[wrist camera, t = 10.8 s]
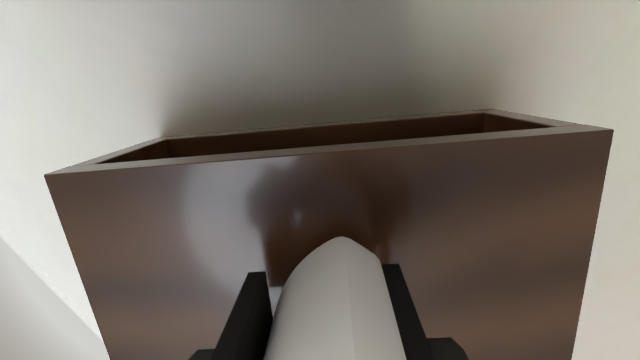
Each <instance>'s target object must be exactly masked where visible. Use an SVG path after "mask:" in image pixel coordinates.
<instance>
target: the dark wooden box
mask: <svg viewBox="0 0 640 360" xmlns="http://www.w3.org/2000/svg"><path fill="white" fill-rule="evenodd" d="M613 132H614V130H613V129H608V128H602V127H596V126H590V125H582V124H577V123H571V122H565V121H559V120H554V119H548V118H542V117H536V116H530V115H524V114H518V113H513V112H507V111H501V110H495V109H484V110H472V111H460V112H449V113H437V114H425V115H413V116H402V117H390V118H378V119H366V120H355V121H343V122H331V123H319V124H308V125H296V126H284V127H272V128H261V129H249V130H237V131H225V132H214V133H202V134H190V135H178V136H166V137H159V138H156V139H153V140H150V141H147V142H144V143H141V144H137V145H134V146H131V147H128V148H125V149H122V150H119V151H116V152H113V153H110V154H107V155H104V156H101V157H97V158H94V159H91V160H88V161H85V162H82V163H79V164H76V165H73V166H69V167H66V168H63V169H60V170H57V171H54V172H51V173H48V174H45V175H44V177H45V180H46V183H47V186H48V188H49V191H50V194H51V197H52V199H53V202H54V205H55V208H56V210H57V213H58V216H59V219H60V222H61V224H62V227H63V230H64V233H65V235H66V238H67V241H68V244H69V247H70V249H71V252H72V255H73V258H74V260H75V263H76V266H77V269H78V271H79V274H80V277H81V280H82V283H83V285H84V288H85V291H86V294H87V296H88V299H89V302H90V305H91V308H92V310H93V313H94V316H95V319H96V321H97V324H98V327H99V330H100V332H101V335H102V338H103V341H104V344H105V346H106V349H107V352H108V354H109V357H110V360H188V359H189V358H190V357H191V356H192V355H193V354H194V353H195V352H196V351H197V350H198V349H215V348H216V345H217V343H218V341H219V338H220V336H221V334H222V332H223V329H224V327H225V325H226V322H227V320H228V318H229V315H230V313H231V311H232V309H233V306H234V304H235V302H236V299H237V297H238V295H239V292H240V290H241V288H242V285H243V283H244V281H245V279H246V276H247V274H248V272H261V271H266V277H267V283H268V290H269V296H270V302H271V308H272V315H273V317H274V313H275V309H276V306H277V302H278V299H279V297H280V294H281V291H282V289H283V287H284V285H285V283H286V281H287V280H288V278H289V276H290V275H291V273H292V272H293V270H294V269H295V268H296V267H297V266H298V264H299V263H300V262H301V261H302V260H303V259H304V258H305V257H306V256H307V255H309V254H310V253H311V252H312V251H314V250H315V249H316V248H318V247H319V246H321V245H322V244H324V243H326V242H327V241H329V240H331V239H333V238H335V237H341V236H343V237H347V238H350V239H352V240H353V241H355V242H357V243H358V244H360V245H361V246H363V247H364V248H366V249H367V250H369V251H370V252H372V253H373V254H375V255H376V256H377V258H378V259H379V260H380V263H381V264H398V263H399V265H400V268H401V270H402V273H403V276H404V279H405V281H406V284H407V287H408V289H409V292H410V295H411V297H412V300H413V303H414V305H415V308H416V311H417V314H418V316H419V319H420V322H421V324H422V327H423V330H424V332H425V335H426V338H447V337H451V338H452V339H453V340H454V341H456V342H457V343H458V344H459V345H460V346H461V347H462V348H463V349H464V351H465V353H466V355H467V357H468V359H469V360H571V358H572V353H573V348H574V342H575V337H576V331H577V326H578V321H579V315H580V310H581V304H582V299H583V294H584V288H585V283H586V277H587V272H588V267H589V261H590V256H591V250H592V245H593V240H594V234H595V229H596V223H597V218H598V213H599V207H600V202H601V196H602V191H603V186H604V180H605V175H606V169H607V164H608V159H609V153H610V148H611V142H612V137H613Z"/></svg>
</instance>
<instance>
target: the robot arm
mask: <svg viewBox="0 0 640 360" xmlns="http://www.w3.org/2000/svg"><path fill="white" fill-rule="evenodd" d="M381 267H382V270H383V274H384V278H385V281H386V285H387V289H388V292H389V296H390V300H391V303H392V307H393V311H394V314H395V318H396V322H397V326H398V329H399V333H400V337H401V341H402V344H403V348H404V352H405V356H406V359H407V360H469V359H468V357H467V355H466V353H465V351H464V349H463V348H462V347H461V346H460V345H459V344H458V343H457V342H456V341H454V340H453V339H452V338H451V337H447V338H426V335H425V332H424V330H423V327H422V324H421V322H420V319H419V316H418V314H417V311H416V308H415V305H414V303H413V300H412V297H411V295H410V292H409V289H408V287H407V284H406V281H405V279H404V276H403V273H402V270H401V268H400V265H399V263H398V264H381ZM272 322H273V315H272V308H271V302H270V296H269V290H268V283H267V277H266V271H261V272H248V274H247V276H246V279H245V281H244V283H243V285H242V288H241V290H240V292H239V295H238V297H237V299H236V302H235V304H234V306H233V309H232V311H231V313H230V315H229V318H228V320H227V322H226V325H225V327H224V329H223V332H222V334H221V336H220V338H219V341H218V343H217V345H216V348H215V349H198V350H197V351H196V352H195V353H194V354H193V355H192V356H191V357H190V358H189V359H188V360H263V358H264V354H265V350H266V346H267V342H268V338H269V334H270V330H271V326H272Z"/></svg>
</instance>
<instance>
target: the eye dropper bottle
mask: <svg viewBox="0 0 640 360" xmlns="http://www.w3.org/2000/svg"><path fill="white" fill-rule="evenodd" d="M263 360H407V359H406V356H405V352H404V348H403V344H402V341H401V337H400V333H399V329H398V326H397V322H396V318H395V314H394V311H393V307H392V303H391V300H390V296H389V292H388V289H387V285H386V281H385V278H384V274H383V270H382V267H381V263H380V260H379V259H378V258H377V256H376V255H375V254H373V253H372V252H370V251H369V250H367V249H366V248H364V247H363V246H361V245H360V244H358V243H357V242H355V241H353V240H352V239H350V238H347V237H343V236H341V237H335V238H333V239H331V240H329V241H327V242H326V243H324V244H322V245H321V246H319V247H318V248H316V249H315V250H314V251H312V252H311V253H310V254H309V255H307V256H306V257H305V258H304V259H303V260H302V261H301V262H300V263H299V264H298V266H297V267H296V268H295V269H294V270H293V272H292V273H291V275H290V276H289V278H288V280H287V281H286V283H285V285H284V287H283V289H282V291H281V294H280V297H279V299H278V302H277V306H276V309H275V313H274V317H273V322H272V326H271V330H270V334H269V338H268V342H267V346H266V350H265V354H264V358H263Z"/></svg>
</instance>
